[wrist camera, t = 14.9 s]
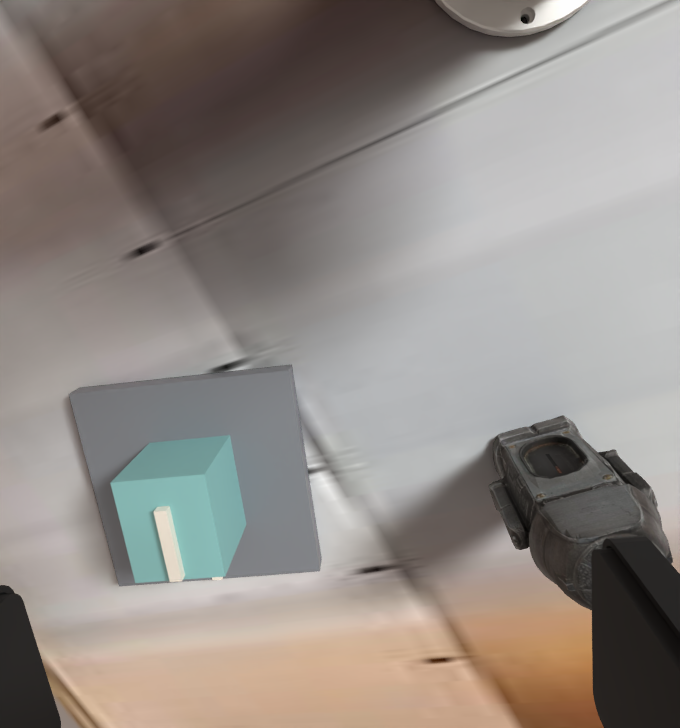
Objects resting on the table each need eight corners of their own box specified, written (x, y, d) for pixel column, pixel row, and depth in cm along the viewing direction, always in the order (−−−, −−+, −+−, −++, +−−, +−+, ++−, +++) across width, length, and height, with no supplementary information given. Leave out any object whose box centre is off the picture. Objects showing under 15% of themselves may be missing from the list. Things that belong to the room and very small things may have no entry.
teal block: (149, 442, 40) (105, 487, 33) (230, 435, 39) (201, 478, 33) (169, 530, 42) (131, 589, 35) (246, 524, 41) (222, 582, 35)
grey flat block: (79, 387, 41) (30, 416, 35) (291, 364, 39) (277, 390, 33) (127, 574, 45) (90, 627, 39) (321, 559, 43) (313, 612, 37)
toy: (492, 507, 41) (557, 664, 27) (470, 438, 40) (527, 564, 26) (605, 476, 40) (737, 622, 26) (587, 404, 39) (716, 516, 24)
